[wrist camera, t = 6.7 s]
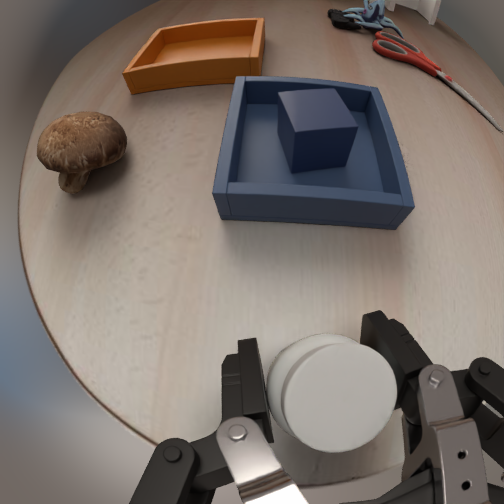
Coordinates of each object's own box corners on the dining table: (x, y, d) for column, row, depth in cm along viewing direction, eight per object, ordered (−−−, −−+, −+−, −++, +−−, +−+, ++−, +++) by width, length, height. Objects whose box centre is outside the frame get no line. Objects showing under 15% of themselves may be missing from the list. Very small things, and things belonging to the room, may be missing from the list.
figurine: (407, 48, 28) (419, 14, 21) (334, 41, 30) (338, 2, 22) (386, 17, 30) (393, -15, 22) (321, 12, 32) (321, -23, 24)
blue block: (291, 174, 18) (295, 132, 14) (277, 133, 19) (277, 92, 16) (345, 166, 18) (359, 126, 14) (327, 127, 20) (334, 88, 16)
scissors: (502, 134, 20) (507, 127, 19) (361, 47, 26) (363, 38, 25) (500, 110, 22) (504, 103, 21) (378, 35, 28) (380, 28, 26)
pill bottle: (359, 365, 14) (433, 366, 7) (315, 430, 13) (356, 485, 6) (296, 326, 15) (322, 296, 8) (250, 390, 14) (234, 422, 7)
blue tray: (220, 219, 18) (211, 193, 15) (239, 103, 22) (235, 75, 19) (395, 230, 17) (415, 207, 14) (369, 113, 21) (378, 87, 18)
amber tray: (131, 94, 24) (121, 73, 21) (163, 46, 28) (157, 28, 25) (260, 83, 23) (258, 57, 20) (265, 37, 27) (264, 17, 24)
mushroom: (31, 212, 15) (24, 129, 12) (47, 173, 21) (46, 111, 17) (129, 201, 19) (134, 119, 16) (122, 166, 25) (126, 105, 21)
